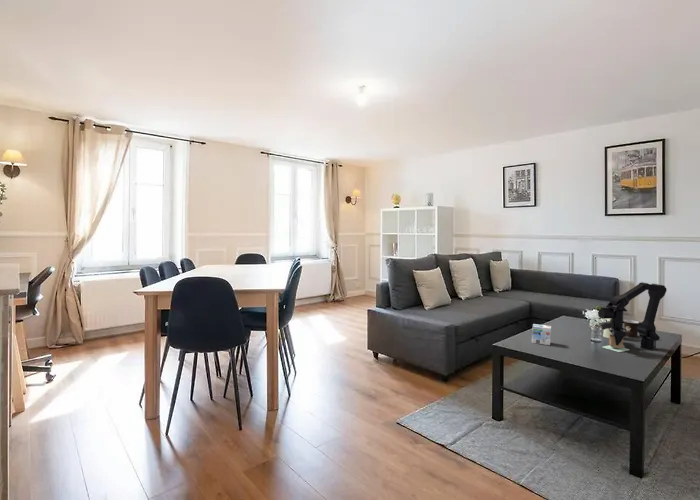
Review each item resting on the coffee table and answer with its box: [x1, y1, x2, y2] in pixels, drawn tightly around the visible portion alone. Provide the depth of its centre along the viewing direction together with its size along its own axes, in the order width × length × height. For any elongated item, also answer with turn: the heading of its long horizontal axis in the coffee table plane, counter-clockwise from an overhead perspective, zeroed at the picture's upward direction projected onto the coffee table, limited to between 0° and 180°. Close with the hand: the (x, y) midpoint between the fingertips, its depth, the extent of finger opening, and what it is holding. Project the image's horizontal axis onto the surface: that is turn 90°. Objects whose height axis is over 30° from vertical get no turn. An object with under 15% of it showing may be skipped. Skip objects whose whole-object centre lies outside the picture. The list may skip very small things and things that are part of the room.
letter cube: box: [608, 334, 624, 348], centre depth 231 cm, size 6×6×6 cm
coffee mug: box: [623, 319, 640, 339], centre depth 259 cm, size 12×9×10 cm
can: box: [602, 318, 612, 339], centre depth 255 cm, size 9×9×12 cm
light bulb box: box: [531, 323, 552, 346], centre depth 242 cm, size 11×7×11 cm, turn 62°
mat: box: [602, 344, 630, 353], centre depth 231 cm, size 10×10×1 cm
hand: (615, 343), depth 231 cm, fingers closed on letter cube, 6 cm apart
